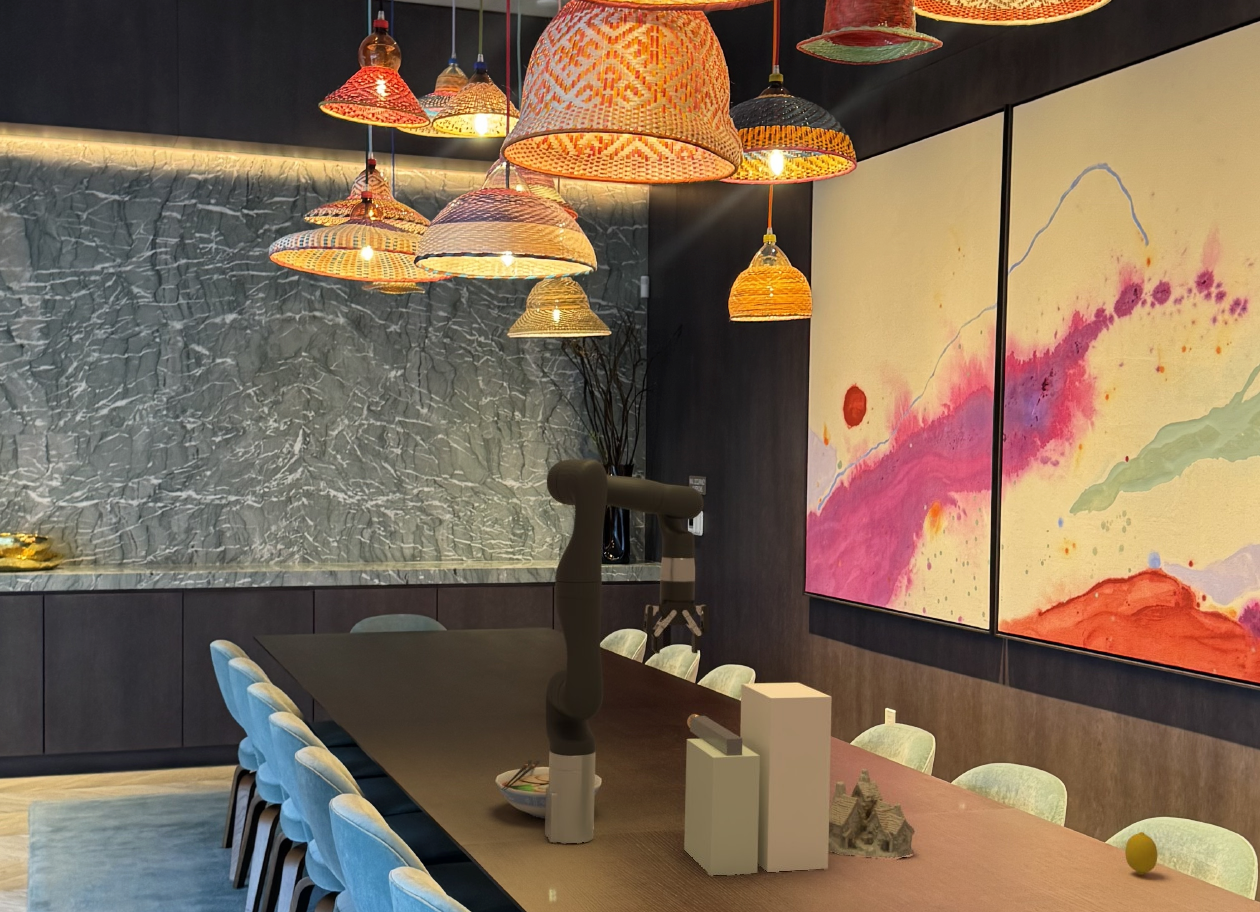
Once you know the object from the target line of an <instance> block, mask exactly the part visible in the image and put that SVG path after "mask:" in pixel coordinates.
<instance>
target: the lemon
mask: <svg viewBox="0 0 1260 912" xmlns="http://www.w3.org/2000/svg"><path fill="white" fill-rule="evenodd" d="M1124 851H1125V853H1124V854H1125V858H1126V862H1127V864H1128V866H1129V867H1130V868H1131V869H1132V870H1133V871H1135V872H1136V873H1137V874H1138V875H1139V876H1144V875H1145V874H1146V873H1149V872H1151V871H1152V870H1153V869H1154V868H1155V866H1156V865H1157V862H1158V848H1157V846H1156V843H1155V841H1154V839H1152V838H1151V837H1150V836H1149V835H1147V834H1145V832H1144V831H1143V832H1142V831H1139V833H1135V834H1133V835H1131V836H1130V837H1129V839H1128V840H1127V843H1126V846H1125V850H1124Z"/></svg>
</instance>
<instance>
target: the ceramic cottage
mask: <svg viewBox="0 0 1260 912" xmlns="http://www.w3.org/2000/svg"><path fill="white" fill-rule="evenodd" d="M858 779H859V780H858V782H857V781H856V783H855V784H856V785H855V786H854V788H853V791H852V793H851V795H847V789H846V783H845V782H844V781H837V782H836V783H835V790H834V793H833V798H832V804H831V806H829V843H828V850H829V851H832V852H836V853H839V854H847V855H850V856H851V855H860V856H870V857H885V858H887V857H888V858H890V857H893V858H895V857H902V856H906V855H910V854H913V855H914V851H913V848H912V840H913V835H914V834H915V833H916V830H915V828H914V827H913V825H910V823H909V822H908V821H907V818H906V816H905V814H904V812H903V809H902V808H901V807H902V806H901V803H897V802H896V803H894V805H893V806H891V803H889V802H886V801H883V797H882V795H881V792H880V790H879V787H878V785H877V782H876V780H871V778H870V774H869V770H868V769H867V768H866V769H865V768H862V769H861V774H859V776H858Z"/></svg>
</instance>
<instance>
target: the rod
mask: <svg viewBox="0 0 1260 912" xmlns="http://www.w3.org/2000/svg"><path fill="white" fill-rule="evenodd" d="M686 723H687V726H688V728H689V731H690V733H692V734H694V735H695V736H696V737H698V739H702V740H704V741H705V742H707V743H709V744H710V745H712V746H713V747H715V748H716V749H718V750H719V751H721V752H722V753H724V754H725V755H727V756H729V755H742V738H741V737H740V736H739V735H737V734H735V733H734V732H732V731H730V729H728V728H725V727H724V726H722V725H720V723H717V722H716V721H714V720H713V719H711V718H710V717H708V716H706V715H699V714H696V713H692V714H691V715H689V716H688V718H687V720H686Z"/></svg>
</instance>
